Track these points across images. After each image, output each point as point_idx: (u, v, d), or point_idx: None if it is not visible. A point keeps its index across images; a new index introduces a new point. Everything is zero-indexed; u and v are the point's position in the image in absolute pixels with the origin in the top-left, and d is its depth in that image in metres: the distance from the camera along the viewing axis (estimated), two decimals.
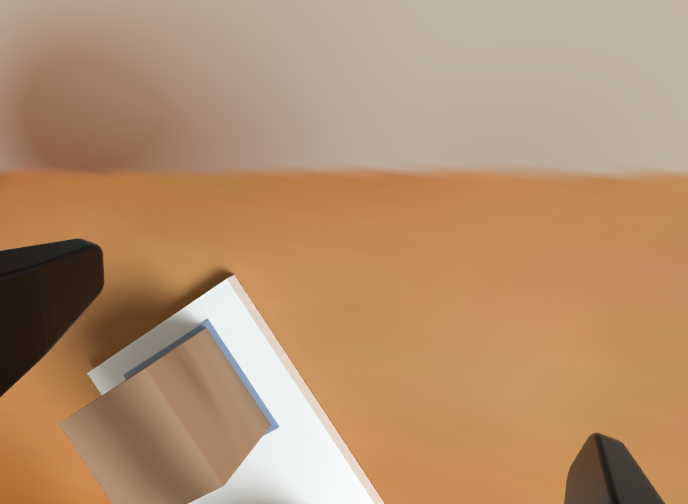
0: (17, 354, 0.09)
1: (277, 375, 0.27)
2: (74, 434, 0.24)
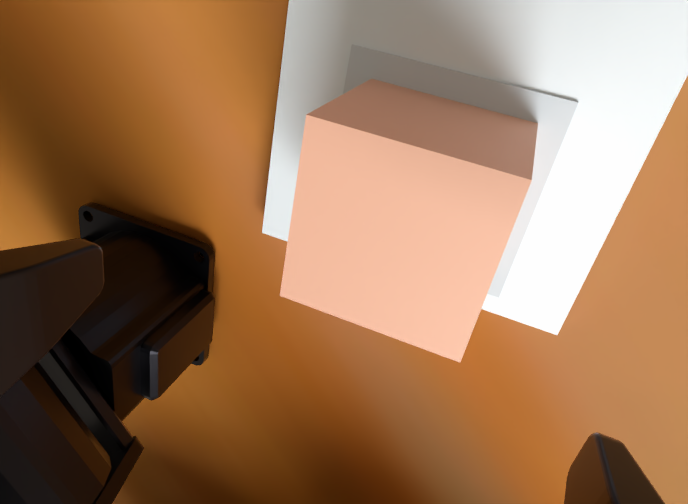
0: (17, 354, 0.09)
1: None
2: None
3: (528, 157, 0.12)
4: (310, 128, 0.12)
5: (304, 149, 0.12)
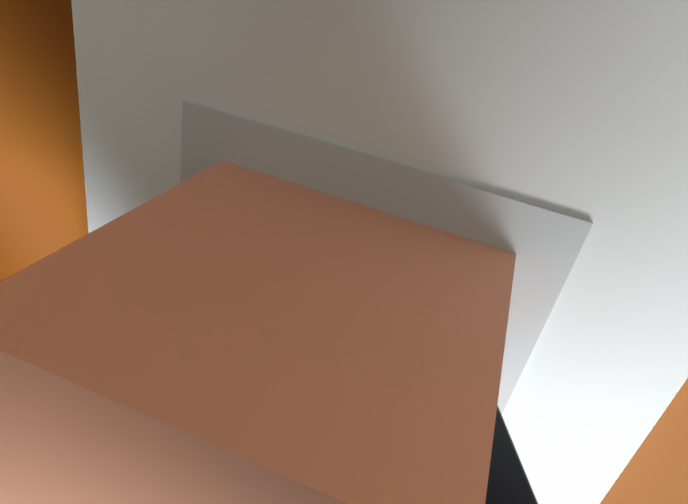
0: None
1: None
2: None
3: (482, 410, 0.05)
4: None
5: None
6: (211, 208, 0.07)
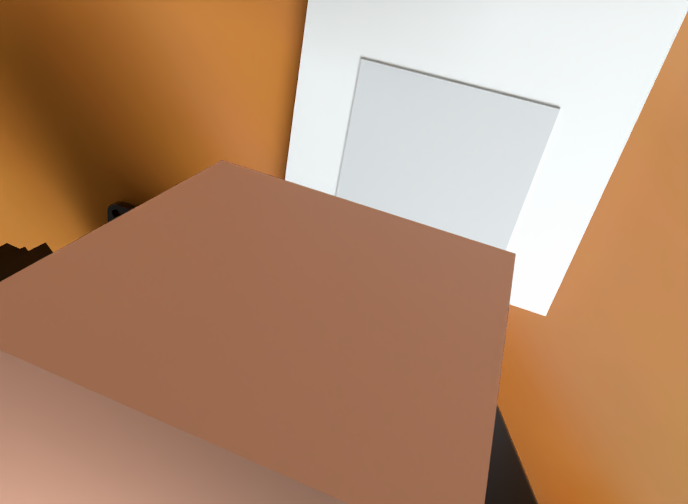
0: None
1: None
2: None
3: (482, 410, 0.05)
4: None
5: None
6: (211, 208, 0.07)
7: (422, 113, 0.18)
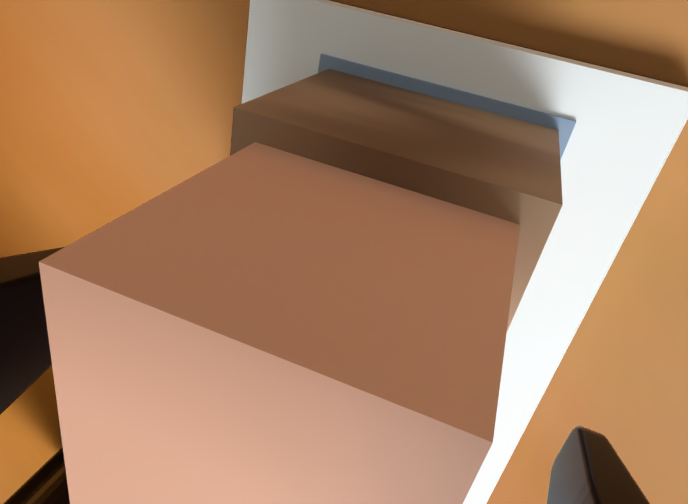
0: (29, 359, 0.09)
1: (572, 287, 0.14)
2: None
3: (494, 341, 0.06)
4: (51, 287, 0.06)
5: (51, 321, 0.06)
6: (251, 181, 0.08)
7: None
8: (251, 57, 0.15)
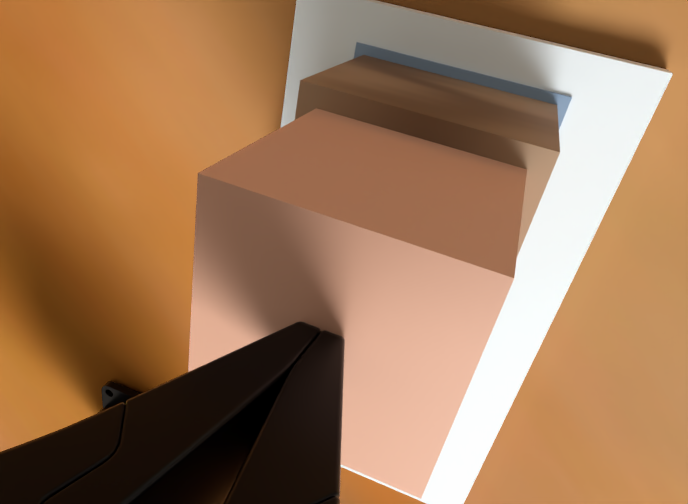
0: None
1: (569, 240, 0.17)
2: None
3: (511, 232, 0.09)
4: (205, 192, 0.08)
5: (200, 219, 0.09)
6: (321, 133, 0.11)
7: None
8: (295, 45, 0.17)
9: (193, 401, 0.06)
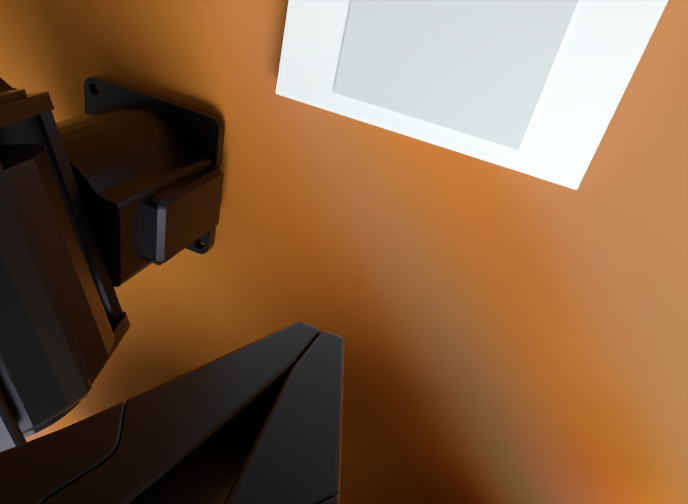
0: None
1: None
2: None
3: None
4: None
5: None
6: None
7: None
8: None
9: (193, 401, 0.06)
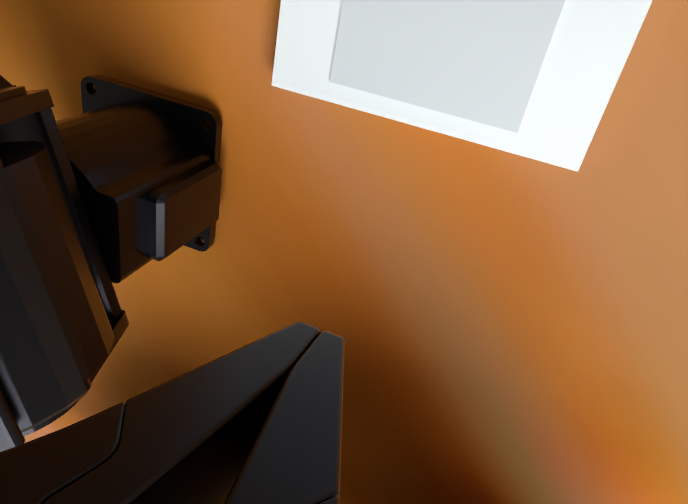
0: None
1: None
2: None
3: None
4: None
5: None
6: None
7: None
8: None
9: (193, 401, 0.06)
